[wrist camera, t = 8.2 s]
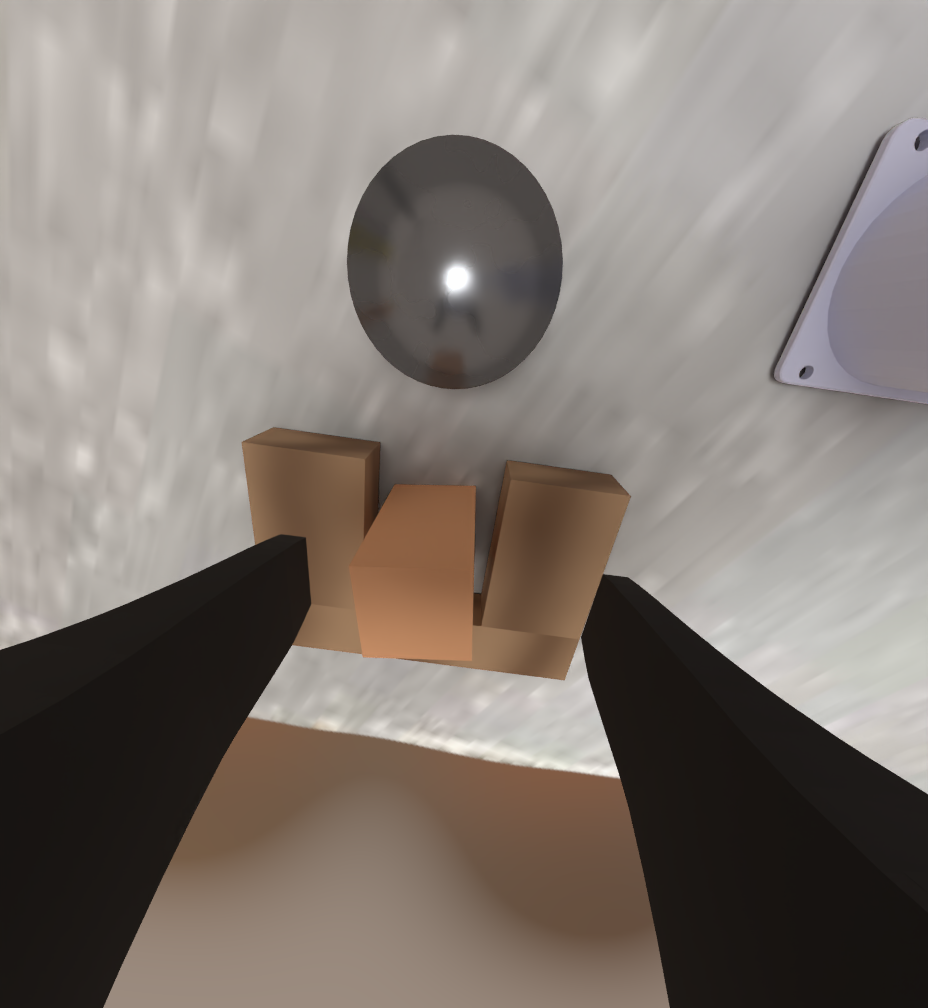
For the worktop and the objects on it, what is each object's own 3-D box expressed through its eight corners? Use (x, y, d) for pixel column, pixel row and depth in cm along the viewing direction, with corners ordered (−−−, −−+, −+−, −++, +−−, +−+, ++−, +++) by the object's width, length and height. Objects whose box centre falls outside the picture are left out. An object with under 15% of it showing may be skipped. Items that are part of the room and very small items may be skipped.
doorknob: (554, 211, 13) (589, 154, 9) (521, 383, 16) (536, 401, 12) (389, 185, 13) (346, 116, 9) (383, 363, 16) (347, 374, 11)
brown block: (475, 485, 18) (473, 569, 12) (474, 554, 20) (471, 660, 13) (394, 484, 18) (348, 566, 12) (400, 553, 20) (362, 657, 13)
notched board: (611, 474, 17) (630, 496, 15) (555, 644, 22) (564, 680, 20) (273, 427, 17) (241, 442, 15) (290, 609, 22) (268, 641, 19)
